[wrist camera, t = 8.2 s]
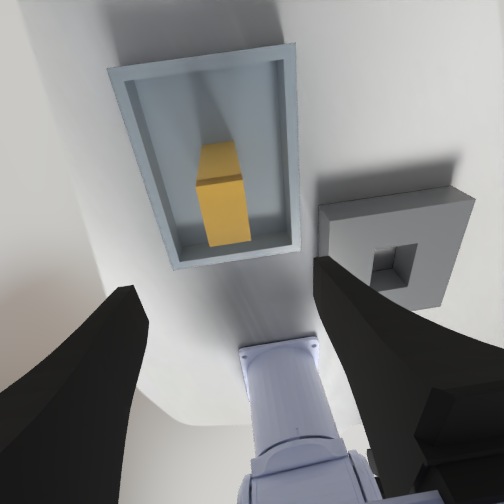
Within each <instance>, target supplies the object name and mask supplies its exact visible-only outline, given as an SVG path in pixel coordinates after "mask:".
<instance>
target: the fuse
mask: <svg viewBox="0 0 504 504" xmlns="http://www.w3.org/2000/svg"><path fill="white" fill-rule="evenodd" d="M195 187H196V192H197V196H198V200H199V204H200V209H201V213H202V217H203V221H204V225H205V230H206V234H207V238H208V242H209V247H213V246H220V245H226V244H233V243H239V242H245V241H251V234H250V226H249V219H248V212H247V205H246V198H245V191H244V184H243V178H242V173H241V169H240V165H239V160H238V156H237V152H236V147H235V143H234V141H228V142H221V143H215V144H208V145H202V146H201V153H200V159H199V166H198V173H197V180H196V186H195Z"/></svg>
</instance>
